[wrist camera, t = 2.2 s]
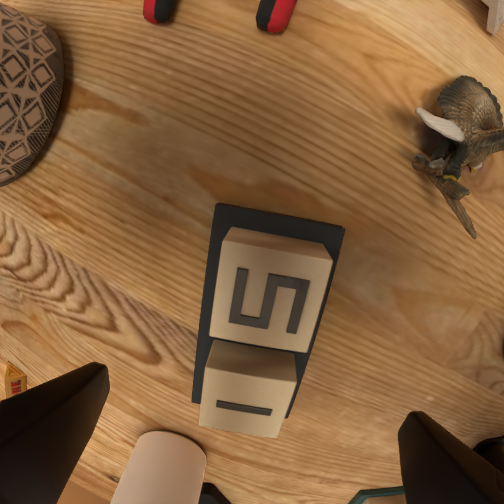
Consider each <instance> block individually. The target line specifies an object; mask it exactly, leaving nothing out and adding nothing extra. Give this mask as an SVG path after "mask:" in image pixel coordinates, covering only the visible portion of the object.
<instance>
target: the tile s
mask: <svg viewBox="0 0 504 504" xmlns="http://www.w3.org/2000/svg"><path fill="white" fill-rule="evenodd" d="M332 264H333V260H332V258H331V257H330V255H329V253H328V252H327V250H326V248H325V247H324V245H323V244H321V243H316V242H311V241H306V240H301V239H295V238H290V237H285V236H279V235H274V234H269V233H263V232H258V231H253V230H247V229H242V228H236V227H231V228H230V230H229V231H228V233H227V235H226V236H225V238H224V240H223V241H222V248H221V254H220V261H219V268H218V275H217V282H216V289H215V296H214V303H213V310H212V317H211V325H210V332H209V335H210V336H212V337H216V338H221V339H227V340H232V341H237V342H243V343H248V344H254V345H259V346H265V347H271V348H278V349H284V350H291V351H297V352H305V353H307V351H308V348H309V345H310V341H311V338H312V335H313V332H314V328H315V325H316V322H317V318H318V315H319V311H320V308H321V304H322V301H323V297H324V294H325V290H326V286H327V283H328V279H329V275H330V271H331V268H332Z"/></svg>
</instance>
